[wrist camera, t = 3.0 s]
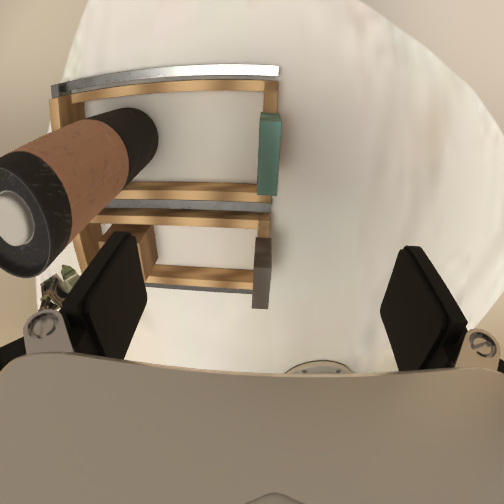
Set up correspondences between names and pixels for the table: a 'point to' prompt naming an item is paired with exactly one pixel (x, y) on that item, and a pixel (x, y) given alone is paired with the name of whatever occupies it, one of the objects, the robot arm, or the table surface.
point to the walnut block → (138, 243)
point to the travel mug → (67, 184)
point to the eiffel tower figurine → (57, 288)
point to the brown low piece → (267, 180)
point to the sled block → (183, 275)
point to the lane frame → (226, 69)
